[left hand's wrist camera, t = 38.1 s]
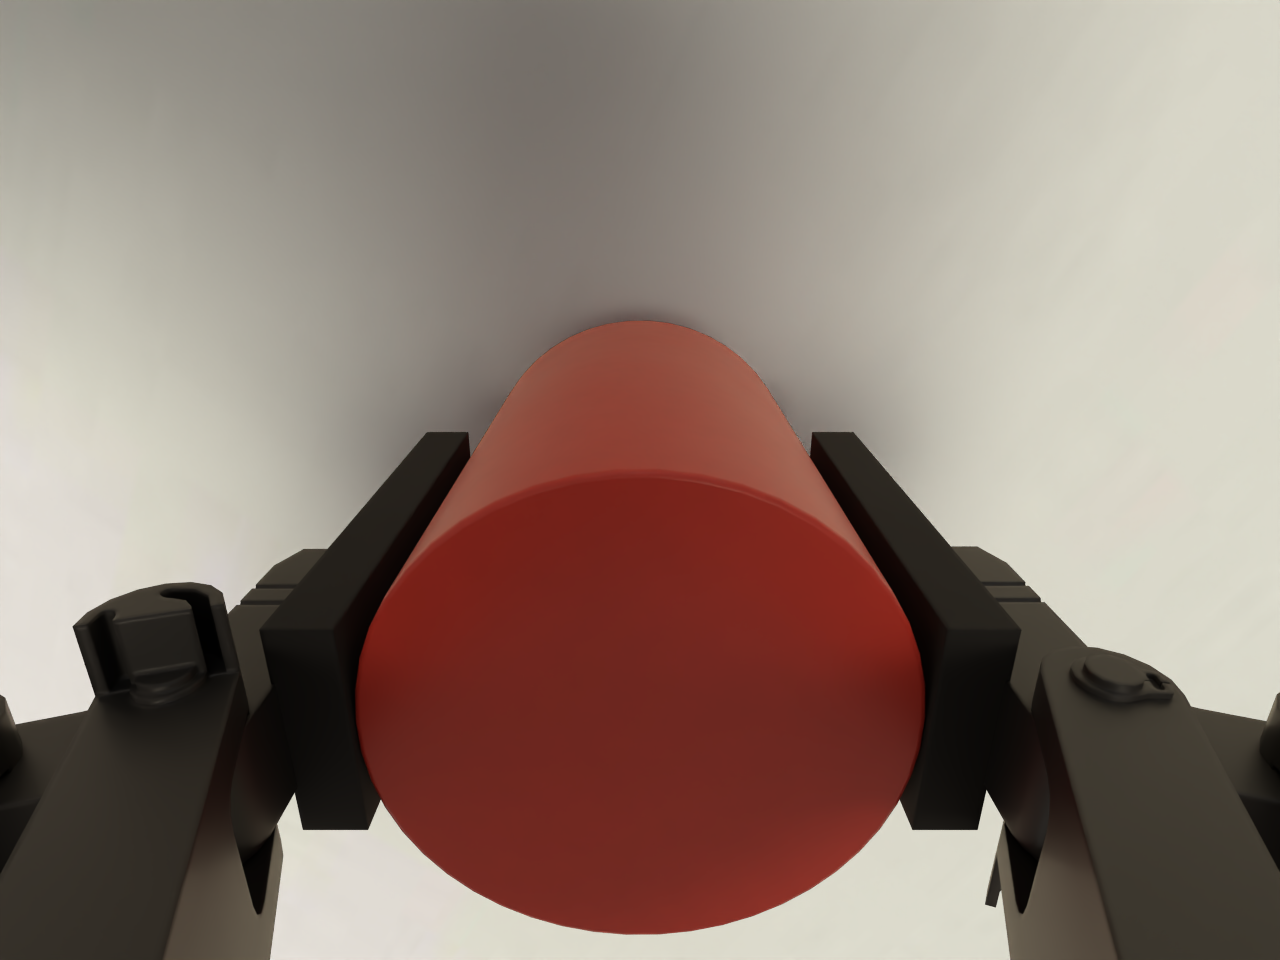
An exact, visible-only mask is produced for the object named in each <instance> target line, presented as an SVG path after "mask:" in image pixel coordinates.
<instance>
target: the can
mask: <svg viewBox="0 0 1280 960" xmlns="http://www.w3.org/2000/svg"><path fill="white" fill-rule="evenodd" d="M355 714H356V726H357V731H358V737H359V742H360V748H361V753H362V756H363V758H364V761H365V764H366V767H367V770H368V773H369V776H370V778H371V781H372V783H373V785H374V787H375V789H376V791H377V792H378V794H379V796H380V798H381V800H382V802H383V804H384V806H385V808H386V809H387V810H388V812H389V813H390V815H391V816H392V817H393V819H394V820H395V822H396V823H397V824H398V826H399V827H400V829H401V830H402V831H403V832H404V834H405V835H406V836H407V837H408V838H409V839H410V840H411V841H412V842H413V843H414V844H415V845H416V846H417V847H418V849H419V850H420V851H421V852H422V853H423V854H424V855H425V856H427V857H428V858H429V859H430V860H431V861H433V862H434V863H435V864H436V865H437V866H438V867H440V868H441V869H442V870H443V871H444V872H446V873H447V874H448V875H450V876H451V877H453V878H454V879H456V880H457V881H459V882H460V883H462V884H463V885H465V886H466V887H468V888H469V889H471V890H472V891H474V892H476V893H478V894H480V895H482V896H484V897H486V898H488V899H490V900H492V901H493V902H495V903H497V904H499V905H501V906H504V907H506V908H509V909H511V910H514V911H516V912H519V913H522V914H524V915H527V916H529V917H532V918H536V919H539V920H543V921H546V922H550V923H553V924H557V925H560V926H565V927H571V928H576V929H582V930H587V931H593V932H603V933H614V934H626V935H629V934H667V933H677V932H687V931H694V930H699V929H704V928H710V927H715V926H720V925H724V924H727V923H731V922H734V921H738V920H741V919H744V918H748V917H751V916H754V915H757V914H759V913H762V912H764V911H766V910H769V909H771V908H774V907H776V906H779V905H781V904H783V903H785V902H787V901H789V900H791V899H793V898H795V897H797V896H798V895H800V894H802V893H804V892H806V891H808V890H810V889H811V888H813V887H814V886H816V885H817V884H819V883H820V882H822V881H823V880H825V879H826V878H828V877H829V876H830V875H832V874H833V873H835V872H836V871H837V870H839V869H840V868H841V867H842V866H843V865H844V864H846V863H847V862H848V861H849V860H850V859H851V858H853V857H854V856H855V855H856V854H857V853H858V852H859V851H860V850H861V849H862V848H863V847H864V846H865V845H866V844H867V843H868V842H869V840H870V839H871V838H872V837H873V836H874V835H875V834H876V833H877V832H878V830H879V829H880V828H881V827H882V825H883V824H884V822H885V821H886V819H887V818H888V817H889V815H890V814H891V812H892V811H893V809H894V808H895V806H896V805H897V803H898V801H899V799H900V797H901V795H902V793H903V791H904V789H905V787H906V785H907V783H908V781H909V779H910V777H911V775H912V772H913V768H914V765H915V762H916V759H917V756H918V753H919V750H920V746H921V740H922V733H923V727H924V721H925V680H924V674H923V668H922V662H921V656H920V652H919V649H918V646H917V643H916V640H915V637H914V634H913V631H912V628H911V625H910V623H909V621H908V619H907V617H906V615H905V613H904V611H903V609H902V608H901V606H900V604H899V602H898V600H897V598H896V596H895V594H894V593H893V591H892V589H891V588H890V586H889V585H888V583H887V581H886V580H885V578H884V576H883V575H882V573H881V572H880V570H879V568H878V567H877V565H876V563H875V562H874V560H873V559H872V557H871V555H870V554H869V552H868V551H867V549H866V547H865V546H864V544H863V542H862V541H861V539H860V538H859V536H858V534H857V533H856V531H855V530H854V528H853V526H852V525H851V523H850V521H849V520H848V518H847V517H846V515H845V513H844V512H843V510H842V508H841V507H840V505H839V504H838V502H837V500H836V499H835V497H834V496H833V494H832V492H831V491H830V489H829V487H828V486H827V484H826V483H825V481H824V479H823V478H822V476H821V474H820V473H819V471H818V470H817V468H816V466H815V465H814V463H813V462H812V460H811V458H810V457H809V455H808V453H807V452H806V450H805V449H804V447H803V445H802V444H801V442H800V441H799V439H798V437H797V436H796V434H795V432H794V431H793V429H792V428H791V426H790V424H789V423H788V421H787V419H786V418H785V416H784V415H783V413H782V411H781V410H780V408H779V407H778V405H777V403H776V402H775V400H774V398H773V397H772V395H771V394H770V392H769V390H768V389H767V387H766V386H765V385H764V383H763V382H762V381H761V379H760V378H759V376H758V375H757V374H756V372H755V371H754V370H753V369H752V368H751V367H750V366H749V365H748V364H747V363H746V362H745V361H744V360H743V359H742V358H741V357H739V356H738V355H737V354H735V353H734V352H733V351H732V350H730V349H729V348H728V347H726V346H725V345H723V344H721V343H720V342H718V341H716V340H714V339H713V338H711V337H709V336H707V335H704V334H702V333H700V332H697V331H695V330H692V329H690V328H686V327H682V326H678V325H675V324H671V323H664V322H656V321H624V322H617V323H610V324H605V325H602V326H598V327H595V328H591V329H588V330H585V331H583V332H581V333H578V334H576V335H574V336H571V337H569V338H567V339H566V340H564V341H562V342H561V343H559V344H557V345H556V346H554V347H552V348H551V349H550V350H549V351H547V352H546V353H545V354H544V355H542V356H541V357H540V358H539V359H537V360H536V361H535V362H534V363H533V364H532V365H531V367H530V368H529V369H528V370H527V371H526V372H525V373H524V374H523V375H522V377H521V378H520V379H519V381H518V382H517V384H516V385H515V386H514V388H513V389H512V391H511V392H510V394H509V396H508V397H507V399H506V400H505V402H504V404H503V405H502V407H501V409H500V410H499V412H498V413H497V415H496V417H495V418H494V420H493V422H492V423H491V425H490V426H489V428H488V430H487V431H486V433H485V435H484V436H483V438H482V439H481V441H480V443H479V444H478V446H477V447H476V449H475V451H474V452H473V454H472V456H471V457H470V459H469V460H468V462H467V464H466V465H465V467H464V469H463V470H462V472H461V473H460V475H459V477H458V478H457V480H456V482H455V483H454V485H453V486H452V488H451V490H450V491H449V493H448V495H447V496H446V498H445V499H444V501H443V503H442V504H441V506H440V507H439V509H438V511H437V512H436V514H435V516H434V517H433V519H432V520H431V522H430V524H429V525H428V527H427V529H426V530H425V532H424V533H423V535H422V537H421V538H420V540H419V542H418V543H417V545H416V546H415V548H414V550H413V551H412V553H411V554H410V556H409V558H408V559H407V561H406V563H405V564H404V566H403V567H402V569H401V571H400V572H399V574H398V576H397V577H396V579H395V580H394V582H393V584H392V585H391V587H390V589H389V590H388V592H387V593H386V595H385V597H384V599H383V601H382V602H381V604H380V606H379V608H378V610H377V612H376V614H375V616H374V618H373V620H372V622H371V624H370V626H369V629H368V632H367V635H366V638H365V642H364V645H363V648H362V651H361V654H360V657H359V664H358V671H357V678H356V685H355Z"/></svg>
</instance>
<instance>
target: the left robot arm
mask: <svg viewBox="0 0 1280 960" xmlns="http://www.w3.org/2000/svg"><path fill="white" fill-rule="evenodd" d="M810 458H811V460H812V462H813V463H814V465H815V466H816V468H817V470H818V471H819V473H820V474H821V476H822V478H823V479H824V481H825V483H826V484H827V486H828V487H829V489H830V491H831V492H832V494H833V496H834V497H835V499H836V500H837V502H838V504H839V505H840V507H841V508H842V510H843V512H844V513H845V515H846V517H847V518H848V520H849V521H850V523H851V525H852V526H853V528H854V530H855V531H856V533H857V534H858V536H859V538H860V539H861V541H862V542H863V544H864V546H865V547H866V549H867V551H868V552H869V554H870V555H871V557H872V559H873V560H874V562H875V563H876V565H877V567H878V568H879V570H880V572H881V573H882V575H883V576H884V578H885V580H886V581H887V583H888V585H889V586H890V588H891V589H892V591H893V593H894V594H895V596H896V598H897V600H898V602H899V604H900V606H901V608H902V609H903V611H904V613H905V615H906V617H907V619H908V621H909V623H910V625H911V628H912V631H913V634H914V637H915V640H916V643H917V646H918V649H919V652H920V656H921V662H922V668H923V674H924V680H925V721H924V727H923V733H922V740H921V746H920V750H919V753H918V756H917V759H916V762H915V765H914V768H913V772H912V775H911V777H910V779H909V781H908V783H907V785H906V787H905V789H904V791H903V793H902V795H901V797H900V801H901V804H902V806H903V808H904V811H905V813H906V816H907V818H908V820H909V823H910V825H911V827H912V830H978V825H979V821H980V816H981V812H982V807H983V803H984V798H985V794H986V790H987V791H988V793H989V795H990V797H991V798H992V800H993V802H994V804H995V805H996V807H997V809H998V811H999V812H1000V814H1001V816H1002V818H1003V820H1004V822H1003V826H1002V830H1001V834H1000V839H999V843H998V847H997V851H996V855H995V860H994V864H993V868H992V872H991V877H990V881H989V885H988V890H987V896H986V902H985V905H989V906H992V907H996V904H997V900H998V896H999V892H1000V891H1001V890H1002V898H1003V906H1004V913H1005V921H1006V929H1007V937H1008V944H1009V952H1010V960H1280V693H1278V694H1277V696H1276V698H1275V701H1274V703H1273V706H1272V709H1271V711H1270V714H1269V716H1268V719H1267V721H1262V720H1256V719H1251V718H1246V717H1241V716H1235V715H1230V714H1225V713H1220V712H1214V711H1209V710H1204V709H1199V708H1195V707H1191V706H1190V704H1189V702H1188V700H1187V698H1186V697H1185V695H1184V694H1183V693H1182V691H1181V690H1180V689H1179V688H1178V687H1177V686H1176V685H1175V683H1174V682H1173V681H1172V680H1171V679H1169V678H1168V677H1166V676H1165V675H1163V674H1162V673H1160V672H1159V671H1157V670H1156V669H1154V668H1153V667H1151V666H1150V665H1147V664H1145V663H1143V662H1140V661H1138V660H1136V659H1133V658H1131V657H1129V656H1126V655H1124V654H1120V653H1116V652H1112V651H1108V650H1104V649H1100V648H1094V647H1087V646H1086V645H1085V644H1084V643H1083V642H1082V641H1081V640H1080V639H1079V637H1078V636H1077V635H1076V634H1075V633H1074V632H1073V631H1072V630H1071V629H1070V628H1069V627H1068V626H1067V625H1066V624H1065V623H1064V622H1063V621H1062V620H1061V619H1060V618H1059V617H1058V616H1057V615H1056V614H1055V613H1054V612H1053V610H1052V609H1051V608H1050V607H1049V606H1048V605H1047V604H1046V603H1045V602H1041V598H1040V597H1039V596H1038V595H1037V594H1036V593H1035V592H1034V591H1033V590H1032V589H1031V588H1030V587H1029V586H1025V581H1024V580H1023V579H1022V578H1021V577H1020V576H1019V575H1018V574H1017V573H1016V572H1015V571H1014V570H1013V569H1012V568H1011V567H1010V566H1009V565H1008V564H1007V563H1006V562H1004V561H1002V560H1000V559H999V558H997V557H995V556H993V555H991V554H990V553H988V552H986V551H984V550H982V549H981V548H979V547H951V546H950V545H949V544H948V543H947V542H946V540H945V539H944V538H943V537H942V536H941V535H940V533H939V532H938V531H937V530H936V529H935V527H934V526H933V525H932V524H931V523H930V522H929V520H928V519H927V518H926V517H925V516H924V515H923V513H922V512H921V511H920V510H919V509H918V508H917V506H916V505H915V504H914V503H913V502H912V500H911V499H910V498H909V497H908V496H907V495H906V493H905V492H904V491H903V490H902V489H901V488H900V486H899V485H898V484H897V483H896V482H895V481H894V479H893V478H892V477H891V476H890V475H889V473H888V472H887V471H886V470H885V469H884V468H883V466H882V465H881V464H880V463H879V462H878V461H877V459H876V458H875V457H874V456H873V455H872V454H871V452H870V451H869V450H868V449H867V448H866V446H865V445H864V444H863V443H862V442H861V441H860V439H859V438H858V437H857V436H856V435H855V434H854V432H812V441H811V452H810ZM469 459H470V447H469V435H468V432H427V433H426V434H425V435H424V437H423V438H422V439H421V440H420V441H419V442H418V444H417V445H416V446H415V447H414V448H413V449H412V451H411V452H410V453H409V454H408V455H407V457H406V458H405V459H404V460H403V461H402V462H401V464H400V465H399V466H398V467H397V468H396V469H395V471H394V472H393V473H392V474H391V475H390V476H389V478H388V479H387V480H386V481H385V482H384V484H383V485H382V486H381V487H380V488H379V489H378V491H377V492H376V493H375V494H374V495H373V496H372V498H371V499H370V500H369V501H368V502H367V503H366V505H365V506H364V507H363V508H362V509H361V511H360V512H359V513H358V514H357V515H356V516H355V518H354V519H353V520H352V521H351V522H350V523H349V525H348V526H347V527H346V528H345V529H344V530H343V532H342V533H341V534H340V535H339V536H338V538H337V539H336V540H335V541H334V542H333V543H332V545H331V546H330V547H329V548H328V549H303V550H301V551H300V552H298V553H296V554H294V555H292V556H291V557H289V558H287V559H285V560H283V561H282V562H280V563H278V564H276V565H274V566H273V567H272V568H271V570H270V571H269V572H268V573H267V574H266V575H265V576H264V577H263V578H262V579H261V580H260V581H259V582H258V583H257V584H256V589H251V590H250V592H249V593H248V594H247V595H246V596H245V597H244V598H243V599H242V600H241V604H240V605H236V606H235V607H234V608H233V609H232V610H231V611H230V612H229V614H227V610H226V606H225V601H224V597H223V593H222V592H221V591H219V590H217V589H216V588H214V587H213V586H211V585H206V584H200V583H194V582H186V583H169V584H162V585H157V586H153V587H148V588H143V589H139V590H136V591H133V592H130V593H127V594H125V595H122V596H119V597H116V598H113V599H111V600H109V601H107V602H105V603H103V604H102V605H100V606H98V607H96V608H94V609H93V610H91V611H89V612H87V613H86V614H85V615H84V616H83V617H82V618H81V619H80V620H79V621H78V622H77V623H76V624H75V625H74V626H73V629H74V632H75V635H76V638H77V642H78V645H79V648H80V651H81V654H82V657H83V660H84V663H85V666H86V669H87V672H88V675H89V678H90V681H91V684H92V687H93V690H94V693H95V698H94V700H93V702H92V704H91V705H90V707H89V709H88V711H84V712H79V713H74V714H68V715H63V716H58V717H53V718H47V719H42V720H37V721H32V722H27V723H21V724H16V725H15V722H14V720H13V717H12V715H11V712H10V709H9V707H8V704H7V701H6V699H5V697H3V696H1V695H0V960H270V954H271V946H272V939H273V931H274V923H275V916H276V908H277V900H278V892H279V885H280V877H281V869H282V862H283V851H282V844H281V839H280V834H279V830H278V826H277V823H278V821H279V819H280V817H281V816H282V814H283V812H284V810H285V809H286V807H287V805H288V803H289V802H290V800H291V798H292V796H293V794H294V793H295V796H296V800H297V805H298V809H299V814H300V818H301V823H302V828H303V830H368V829H369V826H370V824H371V822H372V819H373V817H374V814H375V812H376V810H377V807H378V805H379V802H380V800H381V798H380V796H379V794H378V792H377V791H376V789H375V787H374V785H373V783H372V781H371V778H370V776H369V773H368V770H367V767H366V764H365V761H364V758H363V756H362V753H361V748H360V742H359V737H358V731H357V726H356V714H355V685H356V678H357V671H358V664H359V657H360V654H361V651H362V648H363V645H364V642H365V638H366V635H367V632H368V629H369V626H370V624H371V622H372V620H373V618H374V616H375V614H376V612H377V610H378V608H379V606H380V604H381V602H382V601H383V599H384V597H385V595H386V593H387V592H388V590H389V589H390V587H391V585H392V584H393V582H394V580H395V579H396V577H397V576H398V574H399V572H400V571H401V569H402V567H403V566H404V564H405V563H406V561H407V559H408V558H409V556H410V554H411V553H412V551H413V550H414V548H415V546H416V545H417V543H418V542H419V540H420V538H421V537H422V535H423V533H424V532H425V530H426V529H427V527H428V525H429V524H430V522H431V520H432V519H433V517H434V516H435V514H436V512H437V511H438V509H439V507H440V506H441V504H442V503H443V501H444V499H445V498H446V496H447V495H448V493H449V491H450V490H451V488H452V486H453V485H454V483H455V482H456V480H457V478H458V477H459V475H460V473H461V472H462V470H463V469H464V467H465V465H466V464H467V462H468V460H469Z"/></svg>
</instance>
